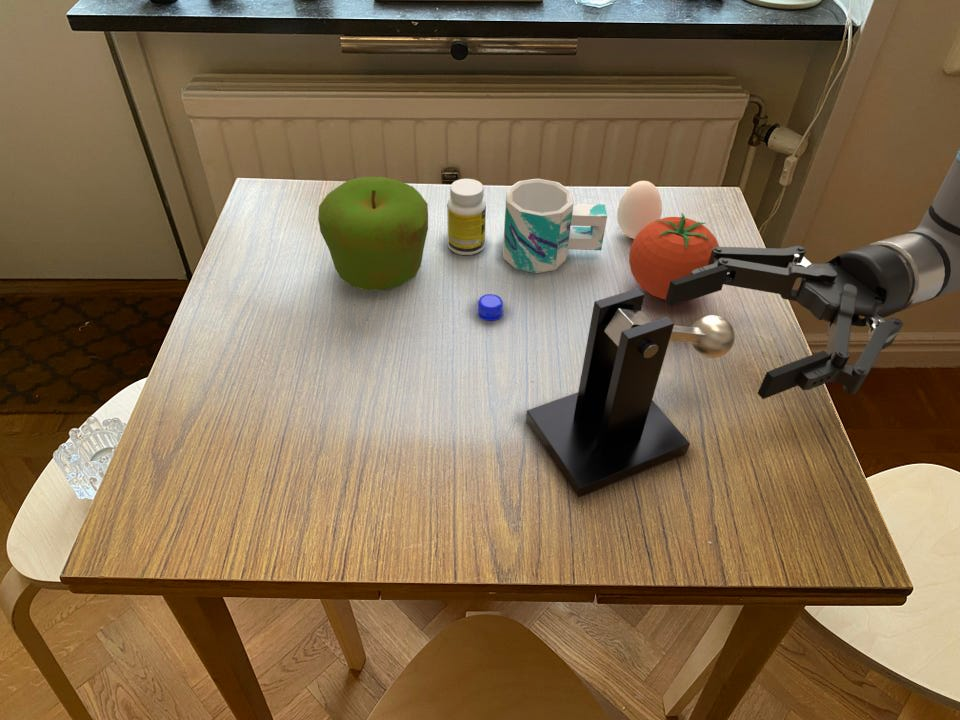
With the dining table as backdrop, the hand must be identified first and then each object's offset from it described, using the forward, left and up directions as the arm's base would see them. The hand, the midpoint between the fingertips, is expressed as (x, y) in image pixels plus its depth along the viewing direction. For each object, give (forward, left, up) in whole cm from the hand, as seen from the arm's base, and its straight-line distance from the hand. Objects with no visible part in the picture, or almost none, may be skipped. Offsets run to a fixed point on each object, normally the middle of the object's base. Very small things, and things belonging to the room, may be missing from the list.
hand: (713, 336), depth 65 cm
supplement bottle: (+34, +9, -9) cm, 37 cm away
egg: (+27, -12, -9) cm, 31 cm away
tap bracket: (0, +10, -9) cm, 14 cm away
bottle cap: (+21, +12, -9) cm, 26 cm away
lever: (0, +6, +1) cm, 6 cm away
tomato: (+16, -9, -9) cm, 20 cm away
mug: (+28, 0, -9) cm, 30 cm away
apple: (+33, +21, -9) cm, 40 cm away
